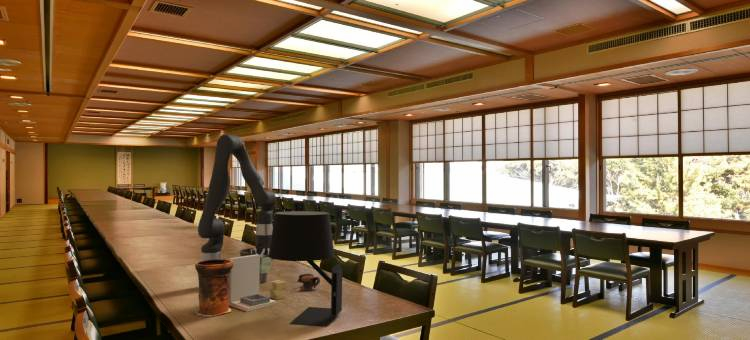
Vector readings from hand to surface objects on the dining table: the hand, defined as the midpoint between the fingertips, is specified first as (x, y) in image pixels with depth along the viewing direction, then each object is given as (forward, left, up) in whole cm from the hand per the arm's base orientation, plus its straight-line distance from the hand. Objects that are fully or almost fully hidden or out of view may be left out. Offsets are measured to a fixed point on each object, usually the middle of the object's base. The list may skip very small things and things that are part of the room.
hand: (262, 269), depth 207 cm
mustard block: (+10, +1, -11) cm, 15 cm away
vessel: (+9, -30, -11) cm, 33 cm away
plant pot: (-23, +12, -11) cm, 28 cm away
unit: (+12, -14, -11) cm, 22 cm away
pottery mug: (+8, +21, -11) cm, 25 cm away
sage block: (0, 0, -1) cm, 1 cm away
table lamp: (+39, -9, -11) cm, 42 cm away
